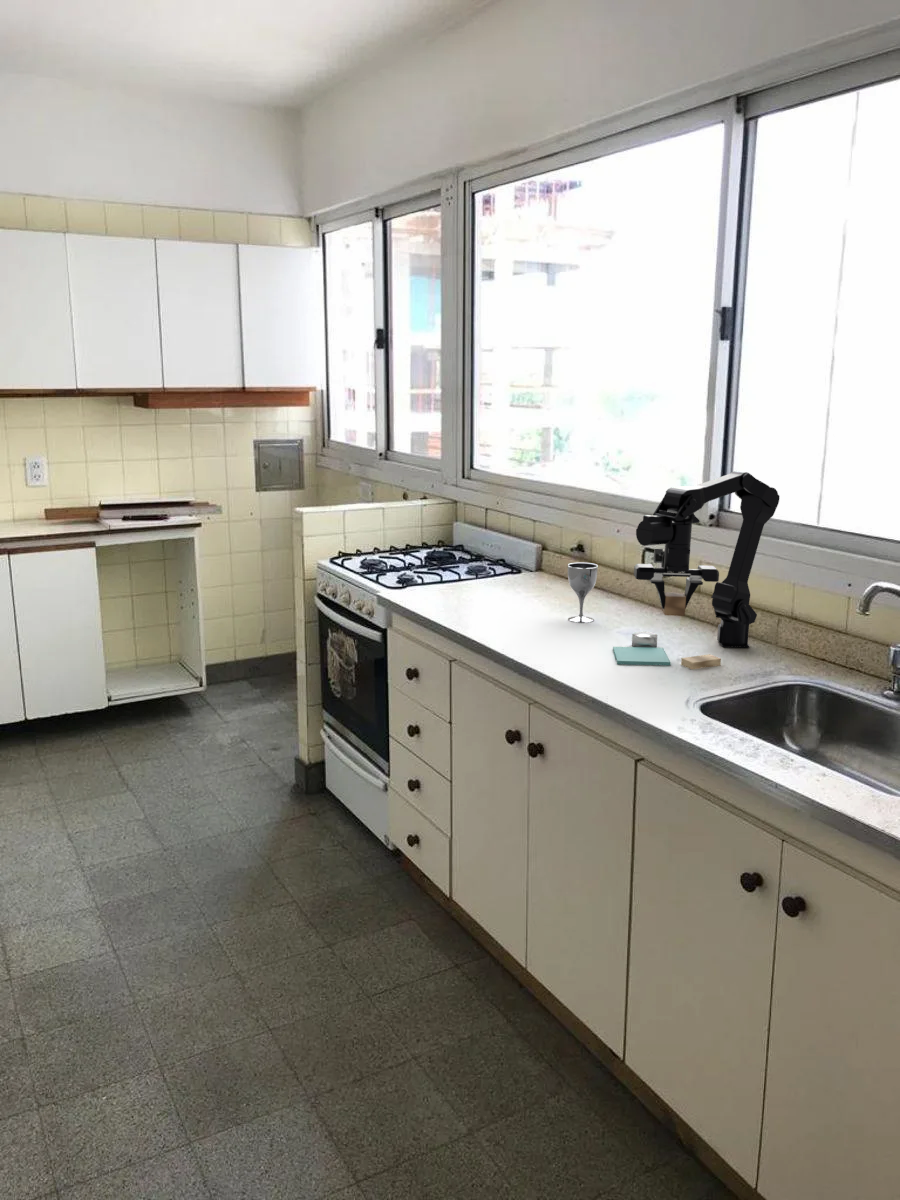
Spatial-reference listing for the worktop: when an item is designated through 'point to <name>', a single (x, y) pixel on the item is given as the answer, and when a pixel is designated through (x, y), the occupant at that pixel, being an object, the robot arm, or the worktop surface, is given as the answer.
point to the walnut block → (674, 604)
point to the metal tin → (644, 639)
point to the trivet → (641, 656)
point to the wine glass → (582, 585)
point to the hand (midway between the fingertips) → (673, 608)
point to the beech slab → (700, 661)
